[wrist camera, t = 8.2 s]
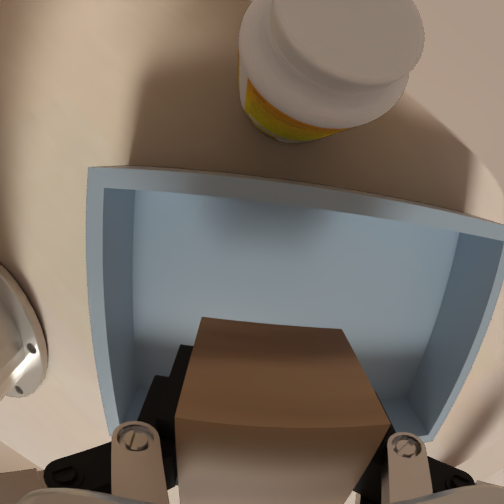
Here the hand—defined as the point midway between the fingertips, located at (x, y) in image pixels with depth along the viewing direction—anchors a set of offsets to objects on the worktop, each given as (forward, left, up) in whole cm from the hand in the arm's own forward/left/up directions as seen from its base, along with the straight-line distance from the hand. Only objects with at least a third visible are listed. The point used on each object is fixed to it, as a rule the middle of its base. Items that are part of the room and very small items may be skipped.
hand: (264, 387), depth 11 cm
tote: (+3, 0, -8) cm, 8 cm away
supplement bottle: (+1, +12, -8) cm, 14 cm away
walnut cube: (0, 0, -1) cm, 1 cm away
